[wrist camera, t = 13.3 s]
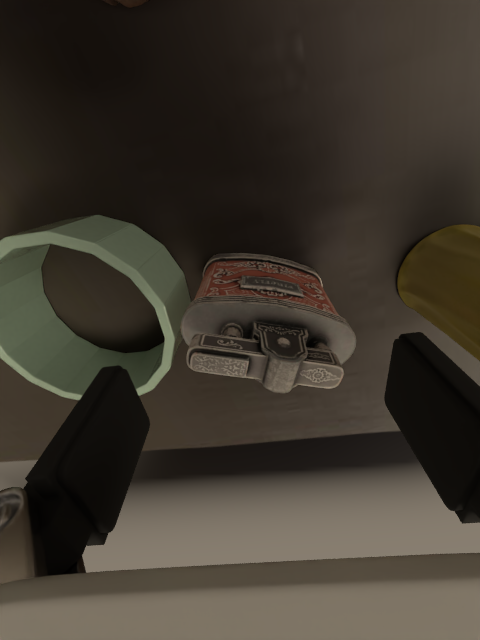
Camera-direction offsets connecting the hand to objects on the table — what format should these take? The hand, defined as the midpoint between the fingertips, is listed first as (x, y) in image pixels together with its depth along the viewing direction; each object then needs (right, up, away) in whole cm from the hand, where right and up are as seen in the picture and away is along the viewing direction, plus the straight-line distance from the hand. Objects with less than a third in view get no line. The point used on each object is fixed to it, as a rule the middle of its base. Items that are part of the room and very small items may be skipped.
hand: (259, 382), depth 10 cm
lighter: (+1, +5, +9) cm, 11 cm away
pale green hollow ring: (-10, +4, +10) cm, 15 cm away
